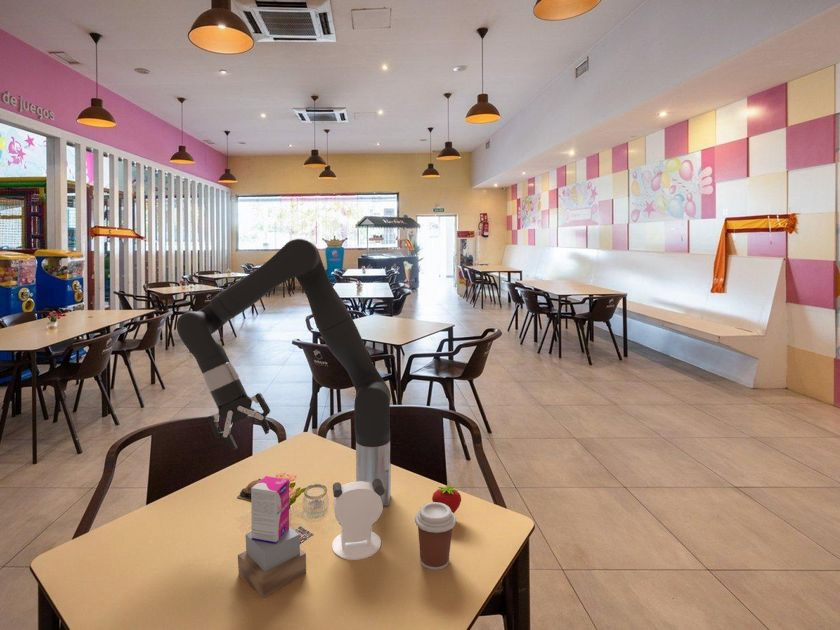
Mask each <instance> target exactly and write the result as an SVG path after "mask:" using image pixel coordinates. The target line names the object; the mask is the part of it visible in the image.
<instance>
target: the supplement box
mask: <svg viewBox="0 0 840 630" xmlns="http://www.w3.org/2000/svg"><path fill="white" fill-rule="evenodd" d="M261 479H262V480H261V481H259V482H258V483H257V484H256V485H255V486H254V487H252V488H251V501H250V502H251V504H250V505H251V509H250V510H251V511H250V512H251V513H250V514H251V531H252V539H251V540H253V541H259V542H266V543H271V544H276V543H277V542H278V541H279V539H280V538H281V537H282V536H283V535H284V534H285V533H286V531H288V529H289V526H290V479H287V478H282V477H281V478H280V477H274V476H268V475H266V476H264V477H262V478H261Z"/></svg>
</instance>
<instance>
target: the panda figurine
mask: <svg viewBox="0 0 840 630" xmlns="http://www.w3.org/2000/svg"><path fill="white" fill-rule="evenodd" d="M372 484H373V485H372ZM372 484H371V483H369V482H364V481H356V480H355V481H351V482H347V483H344V484H341V483H340V482H334V483H333V484H332V494H333V513H334V517H335V520H336V521H337V522H338V524H339V526H341V527H340V529H341V532H340V533H339V534H338V535H337V536H336V537H334V539H333V540H332V543H331V549H332V552H333V554H334V555H336V556H337V557H339V558H341V559H344V560H347V561H360V560H365V559H367V558H369V557H372V556H374V555H375V554H377V552H378V551H379V550H380V548H381V545H382V541H381V537H380V535H378V534H377V533H375V532H374V531H372V529H373V524H374V523H376V521H377V520H379V518H380V517H381V516H382V513H383V510H384V509H383V508H384V506H383V504H382V501H381V498H380V496H381V495H383V494H384V492H385V490H384V487H383V484H382V481H381V480H380V479H375V480H373V482H372Z"/></svg>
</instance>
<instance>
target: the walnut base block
mask: <svg viewBox="0 0 840 630" xmlns="http://www.w3.org/2000/svg"><path fill="white" fill-rule="evenodd" d="M237 567H238V568H237V569H238V576H239V577H240V578H241V579H242V580H243V581H244V582H245V583H246V584H248V585H249V586H250V587H251V588H252V589H253V590H254V591H255V592H256V593H257V594H258V595H259V596H261V597H262V599H265V598H267V597H269V596H271V595H272V594H273V593H276V592H277V591H279V590H280V589H282V588H284V587H285V586H287V585H289V584H290V583H292V582H294V581H296V580H297V579H299V578H300V577H302V576H304V575H306V574H307V554H306V552H305V551H303V550H302V548H300V554H299V555H297V556H295V557H293V558H291V559H289V560H287V561H285V562H283V563H281V564H279V565H277V566H275V567H274V568H272V569H270V570H268V571H266V572H264V571H263V570H262V569H261V568H260V567H259V566H258V565H257V564H256V563H255V562H254V561H253V560H252V559H251V558H250V557H249V556H248V555H247V554H246V550H245V551H242V552H241V553H239V554H237Z"/></svg>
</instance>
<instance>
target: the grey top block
mask: <svg viewBox="0 0 840 630" xmlns="http://www.w3.org/2000/svg"><path fill="white" fill-rule="evenodd" d="M300 537H301V536H300V533H299V532H297V530H295V529H293V528H292V527H291V526H290V525H289V529H288V531H286V533H285V534H284V535H283V536H282V537H281V538H280V539H279V541H278V542H277V543H276V544H271V543H266V542H259V541H253V540H251V539H252V530H251V531H250V532H247V533H245V551H246V554H247V555H248V556H249V557H250V558H251V559H252V560H253V561H254V562H255V563H256V564H257V565H258V566H259V567H260V568H261V569H262V570H263V571H264V572H266V571H268V570H270V569H272V568H274V567H275V566H277V565H279V564H281V563H283V562H285V561H287V560H289V559H291V558H293V557H295V556H297V555H299V554H300V549H301V540H300Z"/></svg>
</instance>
